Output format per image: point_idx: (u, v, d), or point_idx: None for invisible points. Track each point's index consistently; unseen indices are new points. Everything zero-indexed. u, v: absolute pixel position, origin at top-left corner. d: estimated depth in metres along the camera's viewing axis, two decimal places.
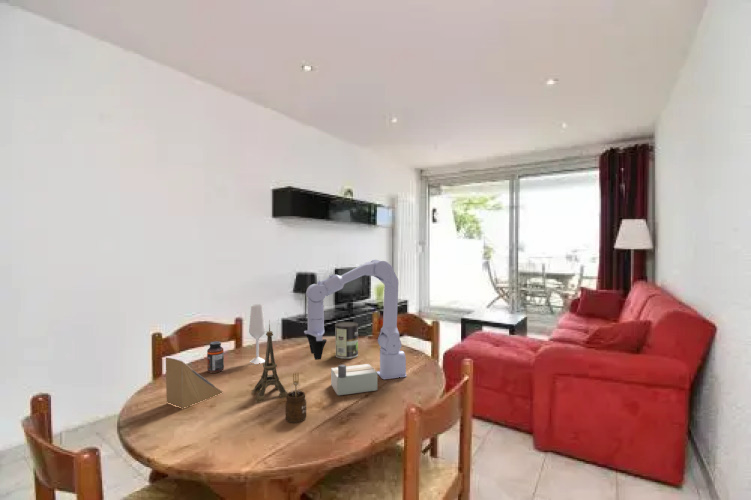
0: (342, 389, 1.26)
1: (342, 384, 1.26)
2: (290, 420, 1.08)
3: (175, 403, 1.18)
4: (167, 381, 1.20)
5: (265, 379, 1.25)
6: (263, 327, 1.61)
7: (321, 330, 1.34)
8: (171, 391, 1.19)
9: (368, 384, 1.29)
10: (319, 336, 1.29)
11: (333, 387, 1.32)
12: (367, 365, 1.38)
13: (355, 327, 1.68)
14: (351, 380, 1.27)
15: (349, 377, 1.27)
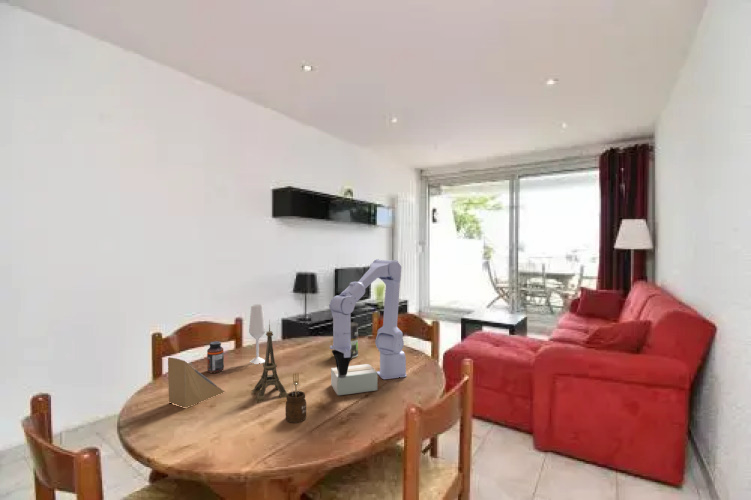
0: (342, 389, 1.26)
1: (342, 384, 1.26)
2: (290, 420, 1.08)
3: (178, 403, 1.18)
4: (169, 381, 1.20)
5: (265, 379, 1.25)
6: (263, 327, 1.61)
7: (348, 345, 1.25)
8: (173, 390, 1.19)
9: (368, 384, 1.29)
10: (347, 352, 1.19)
11: (333, 387, 1.32)
12: (367, 365, 1.38)
13: (355, 327, 1.68)
14: (351, 380, 1.27)
15: (349, 377, 1.27)
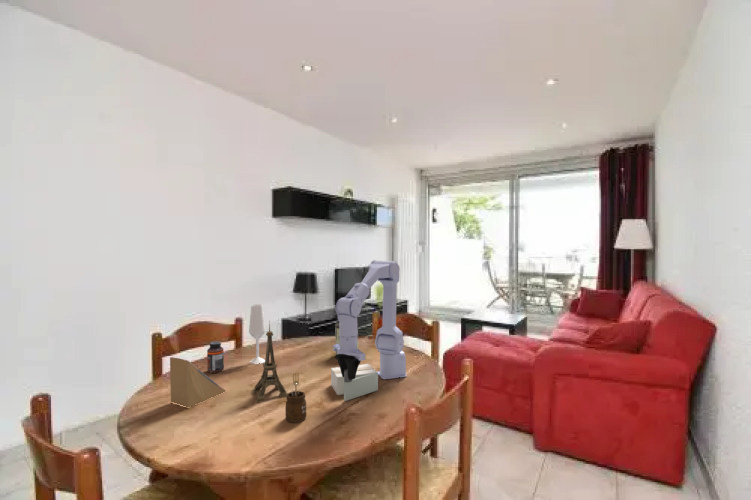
0: (348, 394, 1.22)
1: (348, 389, 1.22)
2: (290, 420, 1.08)
3: (180, 403, 1.18)
4: (171, 381, 1.20)
5: (265, 379, 1.25)
6: (263, 327, 1.61)
7: (356, 348, 1.21)
8: (175, 390, 1.19)
9: (370, 385, 1.28)
10: (362, 355, 1.17)
11: (333, 387, 1.32)
12: (367, 365, 1.38)
13: None
14: (356, 383, 1.24)
15: (354, 380, 1.24)
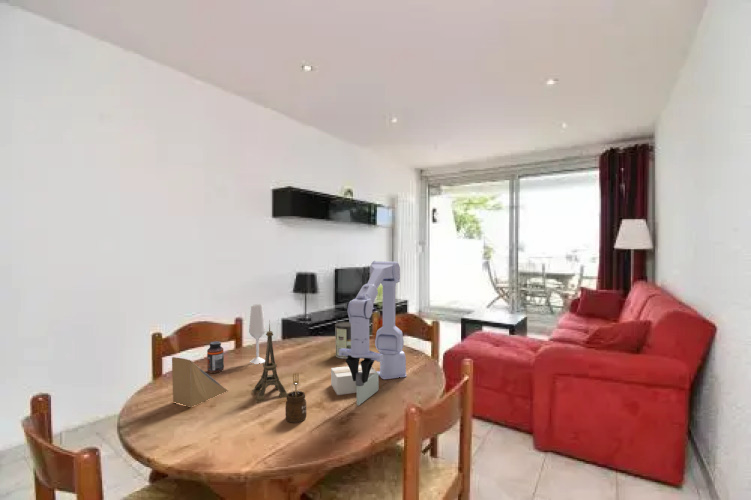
0: (361, 398, 1.19)
1: (360, 392, 1.19)
2: (290, 420, 1.08)
3: (183, 402, 1.19)
4: (173, 380, 1.20)
5: (265, 379, 1.25)
6: (263, 327, 1.61)
7: None
8: (178, 390, 1.20)
9: (374, 386, 1.27)
10: (381, 356, 1.16)
11: (333, 387, 1.32)
12: None
13: None
14: (365, 386, 1.22)
15: (364, 383, 1.21)
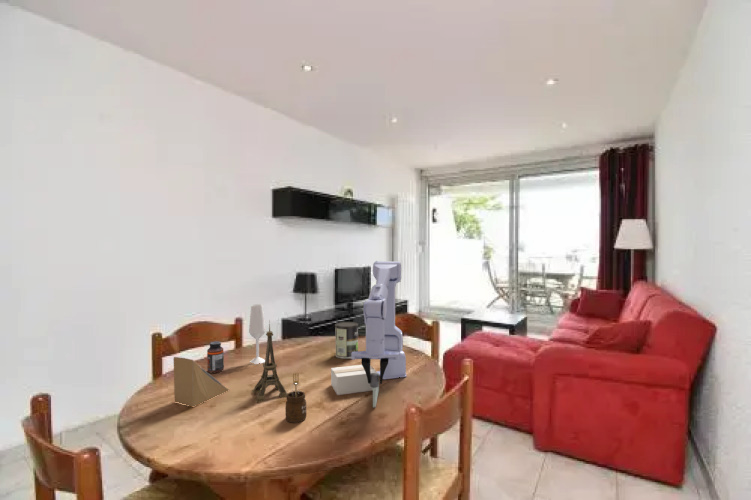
0: None
1: (375, 394, 1.18)
2: (290, 420, 1.08)
3: (185, 402, 1.19)
4: (175, 380, 1.20)
5: (265, 379, 1.25)
6: (263, 327, 1.61)
7: None
8: (180, 390, 1.20)
9: None
10: (398, 354, 1.17)
11: (333, 387, 1.32)
12: None
13: (355, 327, 1.68)
14: (376, 387, 1.21)
15: None
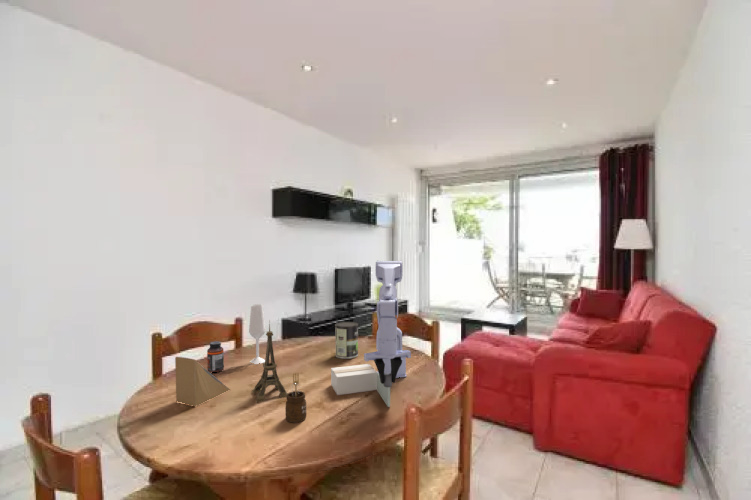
0: None
1: None
2: (290, 420, 1.08)
3: (187, 402, 1.19)
4: (177, 380, 1.21)
5: (265, 379, 1.25)
6: (263, 327, 1.61)
7: None
8: (181, 389, 1.20)
9: None
10: None
11: (333, 387, 1.32)
12: (367, 365, 1.38)
13: (355, 327, 1.68)
14: None
15: None
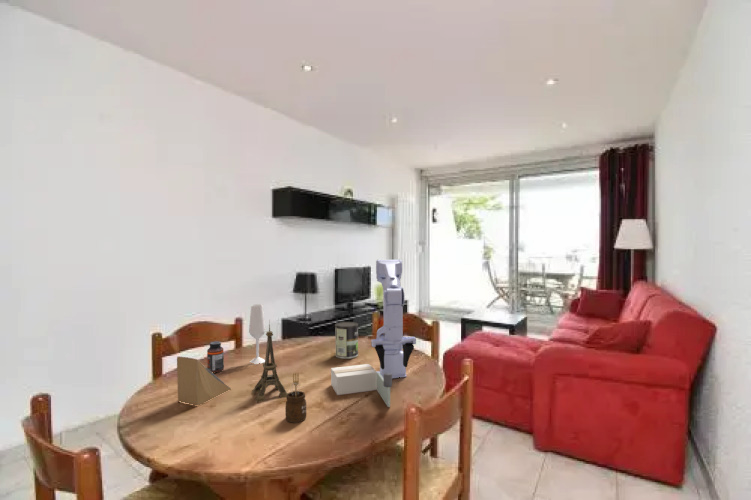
0: None
1: None
2: (290, 420, 1.08)
3: (189, 401, 1.20)
4: (179, 380, 1.21)
5: (265, 379, 1.25)
6: (263, 327, 1.61)
7: None
8: (183, 389, 1.20)
9: None
10: None
11: (333, 387, 1.32)
12: (367, 365, 1.38)
13: (355, 327, 1.68)
14: None
15: None
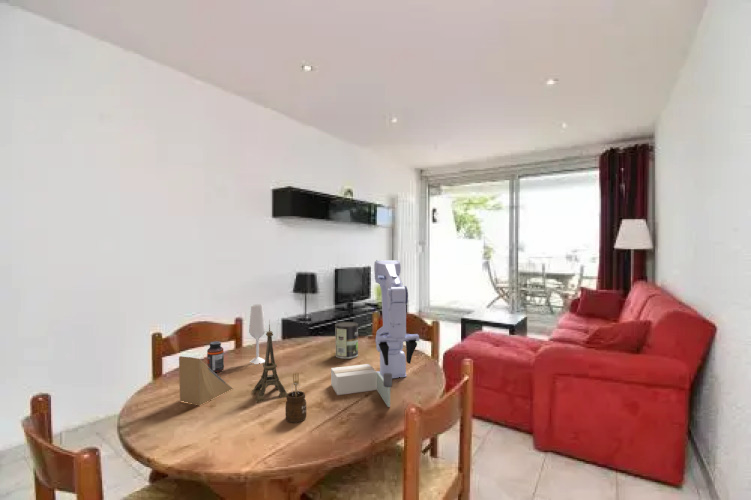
0: None
1: None
2: (290, 420, 1.08)
3: (191, 401, 1.20)
4: (181, 380, 1.21)
5: (265, 379, 1.25)
6: (263, 327, 1.61)
7: None
8: (185, 389, 1.20)
9: None
10: None
11: (333, 387, 1.32)
12: (367, 365, 1.38)
13: (355, 327, 1.68)
14: None
15: None
